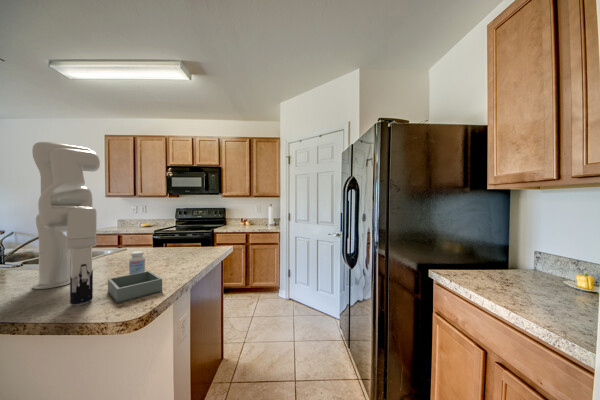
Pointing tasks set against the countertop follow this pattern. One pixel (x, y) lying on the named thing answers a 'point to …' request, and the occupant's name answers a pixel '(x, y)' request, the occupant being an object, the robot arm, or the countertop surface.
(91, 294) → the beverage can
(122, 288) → the box
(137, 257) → the pill bottle
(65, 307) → the countertop surface
